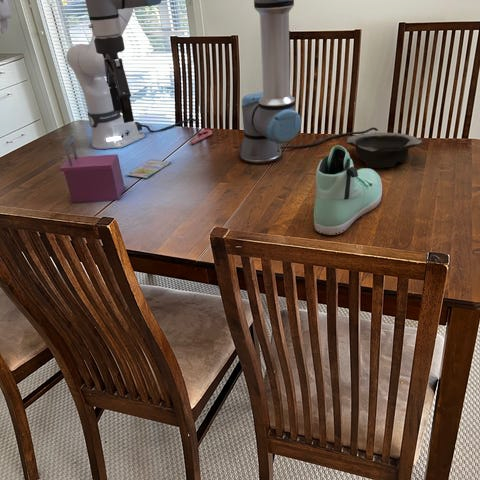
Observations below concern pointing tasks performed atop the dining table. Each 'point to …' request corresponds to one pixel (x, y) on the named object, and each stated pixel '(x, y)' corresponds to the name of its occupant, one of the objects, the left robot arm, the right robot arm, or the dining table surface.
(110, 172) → the chest
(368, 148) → the stone bowl
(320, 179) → the sneaker
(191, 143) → the pink flat elongated piece
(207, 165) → the dining table surface
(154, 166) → the baking ingredient package
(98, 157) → the lid
